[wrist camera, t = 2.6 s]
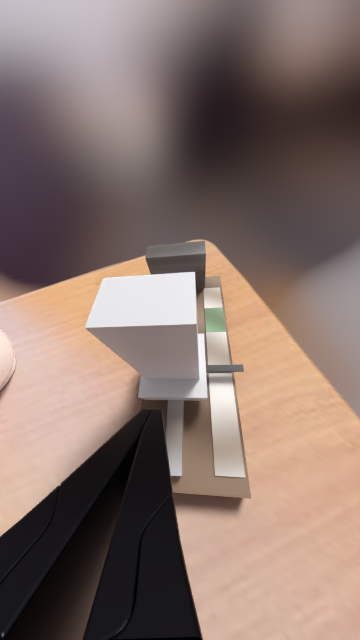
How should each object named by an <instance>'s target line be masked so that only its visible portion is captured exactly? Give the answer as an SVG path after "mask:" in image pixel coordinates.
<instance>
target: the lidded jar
mask: <svg viewBox="0 0 360 640" xmlns="http://www.w3.org/2000/svg"><path fill="white" fill-rule="evenodd" d="M15 367H16V358H15V356H14V349H13V345H12V343H11V341H10V338H9V337H8V336H7V335H6V334H5V332H4V331H3V330H2V329H1V328H0V391H1V390H2V389H3V387H4V386H5V385H6V384H7V383H8V381H9V380H10V378H11V377H12V375H13V373H14V370H15Z"/></svg>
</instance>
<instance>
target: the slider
mask: <svg viewBox="0 0 360 640" xmlns="http://www.w3.org/2000/svg"><path fill="white" fill-rule="evenodd" d="M85 328H86V329H87V330H88V331H89V332H90V333H92V334H93V335H94V336H95V337H96V338H98V339H99V340H100V341H101V342H103V343H104V344H105V345H106V346H107V347H109V348H110V349H111V350H112V351H113V352H115V353H116V354H117V355H118V356H119V357H121V358H122V359H123V360H124V361H125V362H127V363H128V364H129V365H130V366H132V367H133V368H134V369H135V370H136V371H138V372H139V373H140V374H141V378H140V385H139V392H138V397H139V398H141V399H144V400H191V401H207V379H206V372H243V371H244V369H243V365H206V361H205V343H204V334H198V325H197V304H196V283H195V272H184V273H169V274H154V275H139V276H124V277H110V278H103V280H102V283H101V286H100V288H99V291H98V294H97V296H96V299H95V302H94V304H93V307H92V310H91V312H90V315H89V318H88V320H87V323H86V326H85Z"/></svg>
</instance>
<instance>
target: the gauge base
mask: <svg viewBox="0 0 360 640" xmlns="http://www.w3.org/2000/svg"><path fill="white" fill-rule="evenodd" d="M146 261H147V264H148V267H149V270H150V273H151V275H154V274H169V273H184V272H195V283H196V304H197V325H198V334H204V343H205V361H206V365H232V358H231V351H230V344H229V337H228V330H227V322H226V315H225V308H224V301H223V294H222V287H221V279H220V276H213V277H205V261H206V252H205V241H199V242H188V243H176V244H165V245H153V246H148V248H147V253H146ZM206 379H207V401H191V400H144V399H143V400H142V407H141V410H142V409H144V408H148V409H152V410H153V409H162V412H163V420H164V428H165V435H166V443H167V450H168V458H169V466H170V473H171V481H172V488H173V493H186V494H199V495H212V496H225V497H238V498H251V494H250V487H249V480H248V473H247V465H246V458H245V451H244V444H243V437H242V430H241V423H240V415H239V408H238V401H237V394H236V387H235V380H234V372H206Z"/></svg>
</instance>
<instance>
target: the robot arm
mask: <svg viewBox="0 0 360 640" xmlns="http://www.w3.org/2000/svg"><path fill="white" fill-rule="evenodd" d="M0 640H203V638H202V633H201V629H200V625H199V621H198V616H197V612H196V608H195V604H194V599H193V595H192V591H191V587H190V582H189V578H188V574H187V569H186V565H185V560H184V555H183V550H182V546H181V541H180V535H179V529H178V523H177V517H176V510H175V502H174V496H173V488H172V481H171V473H170V466H169V458H168V450H167V443H166V435H165V428H164V420H163V412H162V409H153V410H152V409H148V408H144V409H142V410H141V411H139V412H138V413H137V414H136V415H135V416H134V417H133V418H132V419H131V420H130V421H129V422H127V423H126V424H125V425H124V426H123V427H122V428H121V429H120V430H119V431H118V432H116V433H115V434H114V435H113V436H112V437H111V438H110V439H109V440H108V441H107V442H106V443H104V444H103V445H102V446H101V447H100V448H99V449H98V450H97V451H96V452H95V453H94V454H92V455H91V456H90V457H89V458H88V459H87V460H86V461H85V462H84V463H83V464H82V465H80V466H79V467H78V468H77V469H76V470H75V471H74V472H73V473H72V474H71V475H70V476H68V477H67V478H66V479H65V480H64V481H63V482H62V483H61V485H60V486H57V487H56V488H55V489H54V490H53V491H52V492H51V493H50V494H49V495H48V496H47V497H45V498H44V499H43V500H42V501H41V502H40V503H39V504H38V505H36V506H35V507H34V508H33V509H32V510H31V511H30V512H29V513H27V514H26V515H25V516H24V517H23V518H22V519H21V520H20V521H18V522H17V523H16V524H15V525H14V526H12V527H11V528H10V529H9V530H8V531H6V532H5V533H4V534H3V535H2V536H1V537H0Z"/></svg>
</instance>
